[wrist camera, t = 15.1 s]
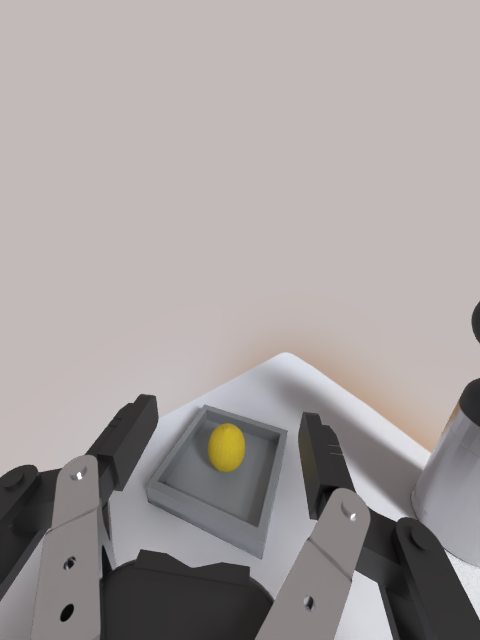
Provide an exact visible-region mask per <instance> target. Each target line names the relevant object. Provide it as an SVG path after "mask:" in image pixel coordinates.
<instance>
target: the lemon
mask: <svg viewBox="0 0 480 640" xmlns="http://www.w3.org/2000/svg"><path fill="white" fill-rule="evenodd" d="M244 455H245V440H244V437H243V434H242V432H241V431H240V429H239V428H238V427H236V426H235V425H233V424H229V423H225V424H222V425H219V426H218V427H216V428H215V429H214V431H213V432H212V434H211V436H210V439H209V443H208V456H209V459H210V462H211V464H212V465H213V466H214V468H216V469H217V470H218V471H221V472H225V473H227V472H232V471H234V470H235V469H237V468H238V467H239V466H240V464H241V463H242V461H243V458H244Z"/></svg>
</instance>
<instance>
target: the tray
mask: <svg viewBox="0 0 480 640" xmlns="http://www.w3.org/2000/svg"><path fill="white" fill-rule="evenodd" d="M225 423H229V424H233V425H235V426H236V427H238V428H239V429H240V431H241V432H242V434H243V437H244V440H245V455H244V458H243V461H242V463H241V464H240V466H239V467H238V468H237V469H235V470H234V471H232V472H227V473H225V472H221V471H218V470H217V469H216V468H214V466H213V465H212V464H211V462H210V459H209V456H208V443H209V439H210V436H211V434H212V432H213V431H214V429H215V428H216V427H218V426H219V425H222V424H225ZM287 432H288V431H286V430H283V429H280V428H277V427H274V426H271V425H267V424H264V423H261V422H258V421H255V420H252V419H248V418H245V417H242V416H239V415H236V414H233V413H230V412H226V411H223V410H220V409H217V408H214V407H211V406H208V405H204V406H203V407H202V409H201V410H200V412H199V413H198V414H197V416H196V417H195V418H194V420H193V421H192V423H191V424H190V425H189V427H188V428H187V429H186V431H185V432H184V434H183V435H182V436H181V438H180V439H179V440H178V442H177V443H176V444H175V446H174V447H173V449H172V450H171V451H170V453H169V454H168V455H167V457H166V458H165V460H164V461H163V462H162V464H161V465H160V466H159V468H158V469H157V471H156V472H155V473H154V475H153V476H152V477H151V479H150V480H149V482H148V483H147V484H146V490H147V496H148V502H149V503H151V504H153V505H155V506H157V507H159V508H161V509H163V510H165V511H167V512H169V513H171V514H173V515H175V516H177V517H179V518H181V519H183V520H185V521H187V522H189V523H191V524H193V525H195V526H197V527H199V528H200V529H202V530H204V531H206V532H208V533H210V534H212V535H214V536H216V537H218V538H220V539H222V540H224V541H226V542H228V543H230V544H232V545H234V546H236V547H238V548H240V549H242V550H244V551H246V552H248V553H250V554H252V555H254V556H256V557H258V558H260V559H262V556H263V551H264V546H265V541H266V536H267V532H268V527H269V522H270V517H271V512H272V507H273V502H274V498H275V493H276V488H277V483H278V478H279V473H280V468H281V464H282V459H283V454H284V449H285V444H286V438H287Z"/></svg>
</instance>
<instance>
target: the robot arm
mask: <svg viewBox="0 0 480 640" xmlns="http://www.w3.org/2000/svg"><path fill="white" fill-rule="evenodd" d="M472 328H473V332H474V334H475V337H476V339H477V340H478V342H479V343H480V302H479V303H478V304H477V306H476V307H475V309H474V312H473V315H472ZM157 423H158V409H157V401H156V396H153V395H145V394H141V395H139V396H138V398H137V399H136V401H135V402H134V403H128V404H127V405H126V406H124V407H123V408H122V409H120V410H119V412H118V413H117V414H116V416H115V417H114V418H113V420H112V421H111V422H110V423H109V425H108V427H106V428H105V430H104V431H103V432H102V434H101V435H100V436H99V437H98V439H97V440H96V441H95V442H94V444H93V445H92V446H91V448H90V449H89V450H88V451H87V453H86V454H85V455H83V456H79V457H77V458H75V459H73V460H71V461H70V462H68V463H67V464H66V465H65V466H64V467H63V468H60V469H55V470H50V471H45V472H38V470H37V468H36V467H35V466H34V465H23V466H19V467H17V468H14V469H13V470H11V471H9V472H7V473H6V474H4V475H3V476H2V477H1V478H0V601H1V600H2V598H3V596H4V595H5V593H6V592H7V590H8V589H9V587H10V586H11V584H12V583H13V581H14V580H15V578H16V577H17V575H18V574H19V572H20V571H21V569H22V568H23V566H24V565H25V563H26V562H27V560H28V559H29V557H30V556H31V554H32V552H33V551H34V549H35V548H36V546H37V545H38V543H39V542H40V540H41V539H42V537H43V536H44V534H45V533H46V531H47V530H48V529H49V528H51V530H50V531H48V532H47V533H46V535H45V537H44V542H43V548H42V556H41V564H40V571H39V579H38V586H37V594H36V601H35V609H34V616H33V624H32V631H31V639H30V640H334V637H335V634H336V631H337V628H338V625H339V621H340V618H341V615H342V612H343V609H344V606H345V603H346V600H347V597H348V594H349V590H350V587H351V583H352V576H353V573H354V570H356V571H358V572H359V573H361V574H363V575H364V576H366V577H368V578H370V579H371V580H373V581H375V582H377V583H378V586H379V590H380V593H381V597H382V600H383V604H384V608H385V611H386V615H387V619H388V622H389V626H390V630H391V633H392V637H393V640H480V620H479V618H478V616H477V614H476V612H475V610H474V608H473V606H472V604H471V602H470V600H469V598H468V596H467V594H466V592H465V590H464V588H463V586H462V584H461V582H460V580H459V578H458V576H457V574H456V572H455V570H454V568H453V566H452V564H451V562H450V560H449V559H448V557H447V555H446V553H445V551H444V549H443V547H444V548H445V549H446V550H448V551H449V552H450V553H452V554H453V555H455V556H456V557H458V558H460V559H461V560H463V561H465V562H467V563H469V564H472V565H475V566H477V567H480V378H479V379H476V380H473V381H472V382H470V383H469V384H468V385H467V386H466V388H465V389H464V391H463V393H462V395H461V397H460V399H459V401H458V403H457V405H456V407H455V409H454V411H453V413H452V414H451V416H450V418H449V420H448V422H447V424H446V426H445V429H444V430H443V432H442V434H441V436H440V438H439V440H438V442H437V444H436V446H435V448H434V450H433V452H432V454H431V456H430V458H429V460H428V462H427V464H426V466H425V468H424V470H423V472H422V474H421V476H420V478H419V480H418V482H417V483H416V485H415V488H414V490H413V492H412V494H411V502H412V507H413V509H414V512H415V514H416V516H417V517H418V519H419V521H420V522H419V521H417V520H415V519H413V518H408V517H403V518H400V519H399V520H398V522H395V521H393V520H391V519H389V518H387V517H385V516H383V515H381V514H378V513H377V512H375V511H373V510H372V509H370V508H369V507H368V506H367V505H366V504H365V502H364V501H363V500H362V498H361V497H360V496H359V495H357V493H356V491H355V489H354V486H353V483H352V480H351V477H350V474H349V471H348V468H347V465H346V462H345V459H344V457H343V455H342V451H341V448H340V445H339V442H338V439H337V436H336V434H335V433H334V432H333V430H332V429H331V428H330V426H326V425H322V424H321V420H320V417H319V414H316V413H307V412H303V414H302V419H301V424H300V429H299V435H298V444H299V451H300V458H301V464H302V471H303V477H304V483H305V490H306V496H307V503H308V509H309V516H310V519H313V520H318V522H317V524H316V526H315V528H314V530H313V532H312V534H311V536H310V537H309V538H308V539H307V540H306V542H305V544H304V545H303V547H302V549H301V551H300V553H299V555H298V557H297V559H296V561H295V563H294V565H293V567H292V569H291V570H290V572H289V574H288V576H287V578H286V580H285V582H284V584H283V586H282V588H281V590H280V592H279V594H278V596H277V598H276V599H275V600H274V599H273V597H272V596H271V595H270V594H269V592H268V591H267V590H266V589H265V588H264V587H263V586H262V585H261V584H260V583H259V582H257V581H256V580H255V579H253V578H251V577H250V576H249V574H250V567H248V566H242V565H236V564H229V563H223V562H222V563H217V564H212V565H207V566H202V567H197V568H191V567H189V566H187V565H185V564H184V563H182V562H180V561H178V560H177V559H175V558H173V557H172V556H170V555H168V554H167V553H160V552H154V551H148V550H142V549H140V552H139V554H138V557H137V559H136V560H132V561H129V562H126V563H124V564H122V565H120V566H119V567H117V568H116V562H115V556H114V551H113V543H112V531H111V518H110V506H109V497H110V495H111V494H112V492H113V490H116V491H123V489H124V487H125V485H126V483H127V481H128V479H129V478H130V476H131V474H132V472H133V470H134V468H135V466H136V464H137V463H138V461H139V459H140V457H141V455H142V453H143V451H144V449H145V447H146V446H147V444H148V442H149V440H150V438H151V436H152V434H153V432H154V431H155V429H156V426H157ZM442 546H443V547H442Z"/></svg>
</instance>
